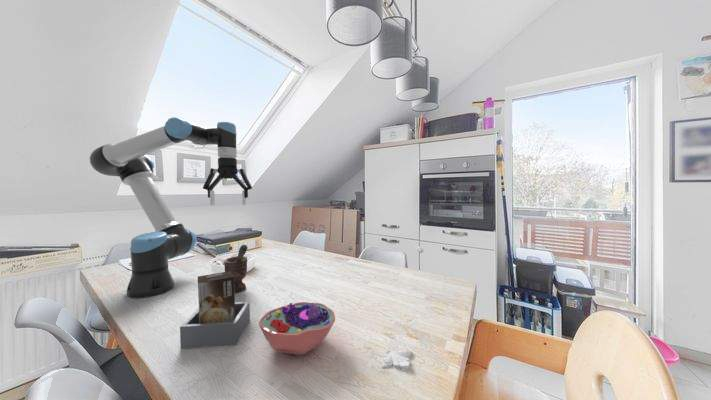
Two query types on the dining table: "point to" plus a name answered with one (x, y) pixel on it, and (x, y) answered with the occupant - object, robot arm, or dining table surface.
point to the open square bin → (214, 329)
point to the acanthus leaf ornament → (397, 359)
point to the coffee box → (216, 298)
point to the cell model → (297, 327)
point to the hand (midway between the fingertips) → (228, 205)
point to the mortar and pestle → (238, 268)
